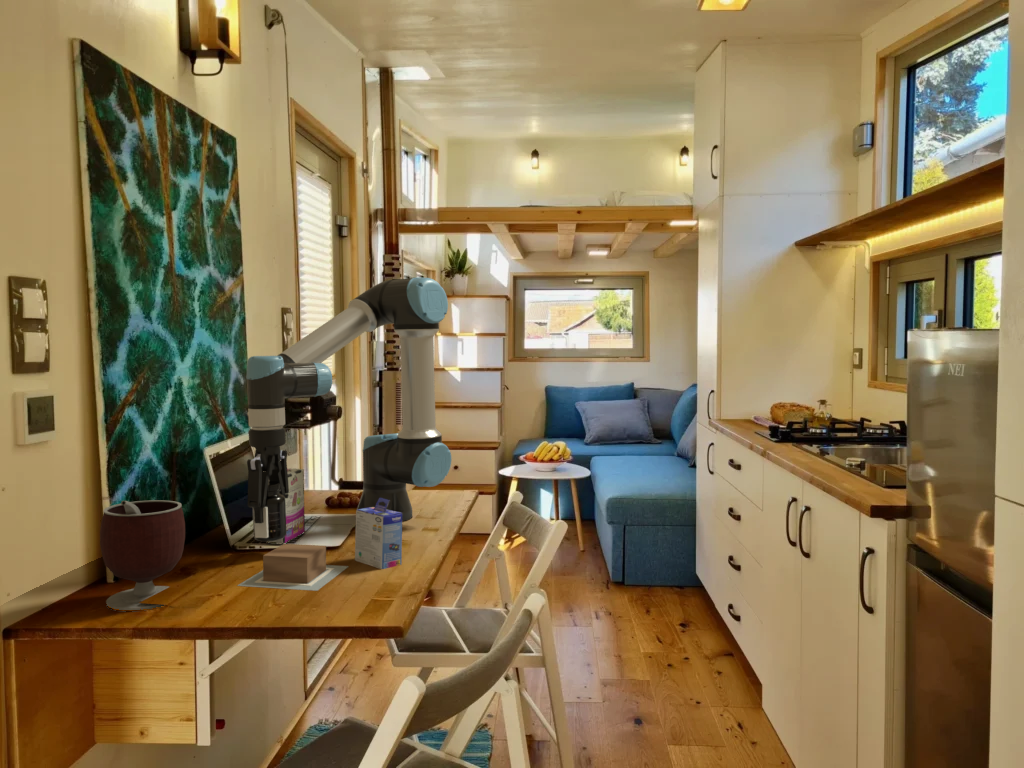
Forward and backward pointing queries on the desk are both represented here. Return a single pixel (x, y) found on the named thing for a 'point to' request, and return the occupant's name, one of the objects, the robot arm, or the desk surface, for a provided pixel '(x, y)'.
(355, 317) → the robot arm
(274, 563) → the walnut block
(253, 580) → the grey square plate
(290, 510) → the candy bar box
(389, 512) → the ink cartridge box
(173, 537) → the mate gourd
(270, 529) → the supplement bottle
